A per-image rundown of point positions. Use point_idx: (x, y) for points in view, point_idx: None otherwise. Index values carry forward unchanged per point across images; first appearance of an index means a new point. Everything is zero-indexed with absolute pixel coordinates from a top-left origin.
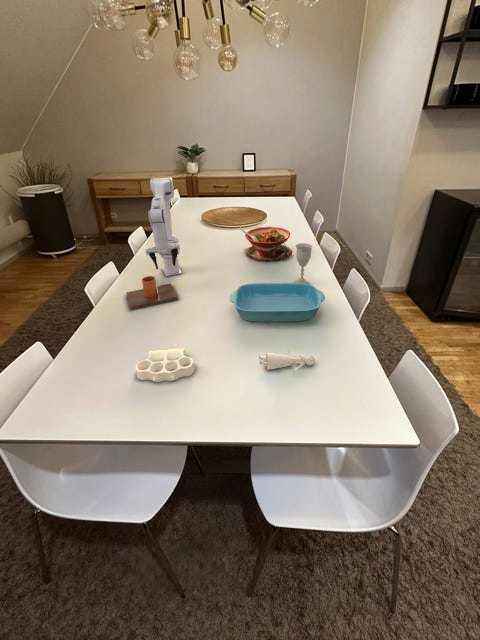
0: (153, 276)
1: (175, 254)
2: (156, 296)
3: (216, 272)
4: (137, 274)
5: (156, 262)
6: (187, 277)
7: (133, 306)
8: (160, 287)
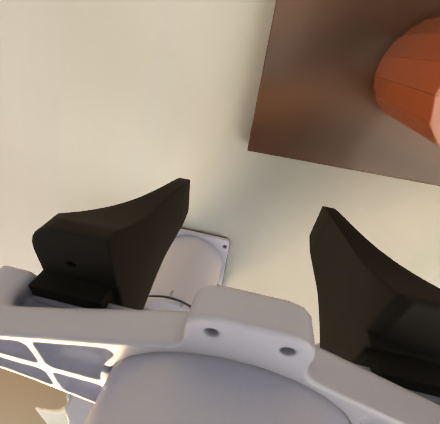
0: (430, 122)
1: (100, 219)
2: (423, 13)
3: (21, 148)
4: (313, 309)
5: (352, 243)
6: (150, 181)
7: None
8: (318, 136)
